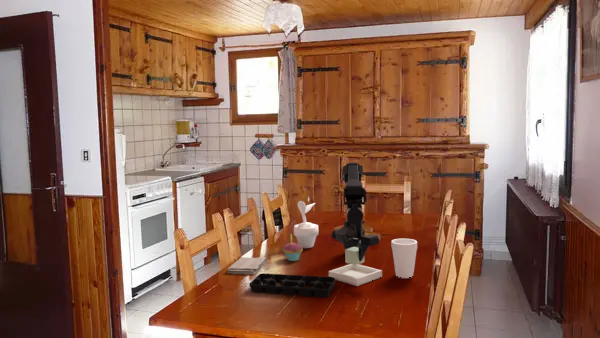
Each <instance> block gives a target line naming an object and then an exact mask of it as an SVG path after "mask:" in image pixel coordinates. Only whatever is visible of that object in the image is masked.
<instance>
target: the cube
mask: <svg viewBox="0 0 600 338" xmlns="http://www.w3.org/2000/svg"><path fill="white" fill-rule="evenodd" d="M344 252H345V254H344V255H345V256H344V257H345V259H344V260H345V263H346V264H353V265H358V264H359V265H362V264H363V263H365V256H364V257H363V259H362V261H359V249H358V247H351V248H348V249H345V248H344Z"/></svg>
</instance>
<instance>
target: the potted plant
mask: <svg viewBox="0 0 600 338" xmlns="http://www.w3.org/2000/svg"><path fill="white" fill-rule="evenodd" d="M310 200H311V198H310V196H309V195H308V197H307V201H308V202H310ZM315 204H316V202H314V203H310V204H306V203H305V202H304V201H302V200H299V201H298V202H297V208H298V210H299V211H300V214H301V217H302V222H301V223H298V224H297V223H296V224H294V225H293V236H295V238H296V241H297V243H298V244H299V245H301V246H302V247H303V248H302V249H310V248H313V247H314V246H315V242H316V239H317V236H319V224H316V223H312V222H308V221H307V217H306V214H307V213H308V212H310V211H311V209H312V208H313V206H314V205H315ZM316 205H317V204H316Z"/></svg>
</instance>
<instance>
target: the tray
mask: <svg viewBox="0 0 600 338" xmlns="http://www.w3.org/2000/svg"><path fill="white" fill-rule="evenodd" d="M328 277H334V278H335V281H339V282H342V283H346V284H349V285H353V286H354V287H355V286H356V287H359V286H361V285H364V284H365V285H366V284H367V283H369V282H372V280H373V281H375V280H378V279H381V278H382V277H383V270H382V269H377V268H374V267H371V266H370V267H369V266H368V265H367V266H366V265H362V264H358V265H353V264H350V263H348V264H346V265H344V266H340V267H337V268H334V269H332V270H328ZM380 277H381V278H380Z"/></svg>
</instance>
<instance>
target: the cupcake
mask: <svg viewBox="0 0 600 338" xmlns="http://www.w3.org/2000/svg"><path fill="white" fill-rule="evenodd" d="M289 237H290V242H288V243H286V244H285V245H284V246H283V247H282V252H283V253H284V255H285V256H286V260H288V261H290V262H296V261H299V259H300V257H301V254H302V252H303V249H304V248H303V247H302V246H301V245H299V243H298V242H293V234H292V233H290V236H289Z"/></svg>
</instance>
